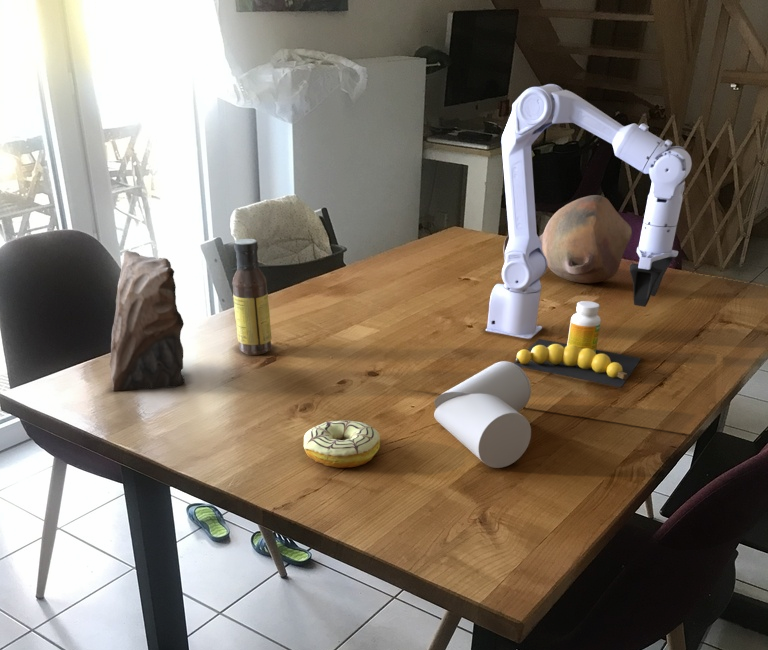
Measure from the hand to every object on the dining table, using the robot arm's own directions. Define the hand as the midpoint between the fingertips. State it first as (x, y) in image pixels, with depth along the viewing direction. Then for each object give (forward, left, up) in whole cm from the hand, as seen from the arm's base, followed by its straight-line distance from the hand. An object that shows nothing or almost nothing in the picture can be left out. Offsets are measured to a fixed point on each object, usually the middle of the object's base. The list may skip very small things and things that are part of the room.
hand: (644, 299), depth 148 cm
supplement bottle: (-8, -7, -10) cm, 15 cm away
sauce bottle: (-63, -36, -11) cm, 73 cm away
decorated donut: (-28, -64, -11) cm, 70 cm away
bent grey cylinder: (-12, -47, -11) cm, 49 cm away
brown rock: (-71, -57, -11) cm, 91 cm away
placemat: (-8, -11, -10) cm, 17 cm away
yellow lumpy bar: (-9, -15, -10) cm, 20 cm away
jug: (-28, +43, -11) cm, 52 cm away
